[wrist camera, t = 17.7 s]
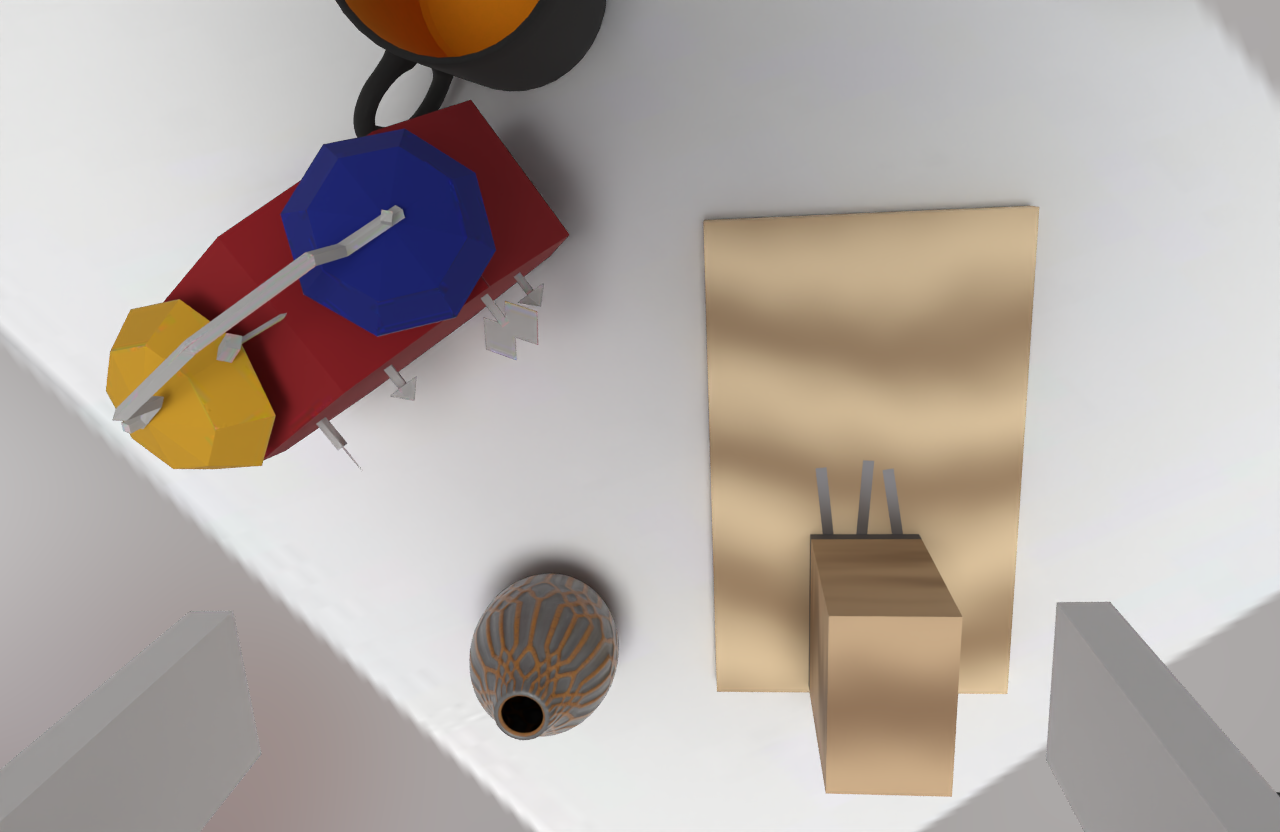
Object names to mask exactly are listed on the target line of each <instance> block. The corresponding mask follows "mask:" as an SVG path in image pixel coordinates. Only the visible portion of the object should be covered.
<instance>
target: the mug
mask: <svg viewBox="0 0 1280 832" xmlns="http://www.w3.org/2000/svg"><path fill="white" fill-rule="evenodd" d="M336 2H337V3H338V5H339V6H340V8H341V10H342V11H343V13H344V14H345V15H346V16H347V17H348V18H349V20H350V21H351V22H352V23H353V24H354V25H355V26H356V27H357V29H358V30H359V31H361V32H362V33H363V34H364V35H366V36H367V37H368V38H369V39H370V40H372V41H373V42H374V43H375V44H377V45H378V46H380V47H382V48H384V49H386V51H385V53H384V56H383V57H382V59H381V61H380V62H379V64H378V66H377V67H376V68H375V70H374V71H373V73H372V74H371V76H370V77H369V78H368V80H367V81H366V83H365V85H364V86H363V88H362V90H361V92H360V95H359V97H358V100H357V103H356V107H355V111H354V129H355V133H356V136H357V137H358V138H359V137H364V136H367V135H368V134H370V133H371V132H373V131H376V130H379V129H382V128H385V127H380V126H376V125H375V115H376V111H377V108H378V105H379V103H380V101H381V99H382V97H383V95H384V94H385V92H386V91H387V90H388V88H389V87H390V86H391V85H392V83H393V82H394V81H395V80H396V79H397V78H398V77H399V76H401V75H402V74H403V73H405V72H406V71H408V70H410V69H412V68H413V67H414V66H415V65H416V64H417V63H419V64H421V65H424V66H427V67H430V68H432V71H433V80H432V83H431V86H430V88H429V91H428V93H427V95H426V97H425V98H424V100H423V102H422V104H421V105H420V107H419V108H418V110H417V111H416V112H415V113H414V115H413V116H412V117H411V118H410V119H413V118H416V117H419V116H422V115H425V114H428V113H431V112H434V111H437V110H439V108H440V106H441V104H442V103H443V101H444V98H445V96H446V94H447V91H448V89H449V86H450V84H451V81H452V78H453V76H456V77H459V78H462V79H465V80H468V81H471V82H474V83H477V84H480V85H483V86H486V87H489V88H492V89H498V90H504V91H524V90H529V89H533V88H538V87H541V86H544V85H546V84H548V83H551V82H553V81H555V80H557V79H558V78H560V77H561V76H563V75H564V74H566V73H567V72H569V71H570V70H571V69H572V68H573V67H574V66H575V65H576V64H577V63H578V62H579V61H580V60H581V59H582V58H583V56H584V55H585V54H586V52H587V51H588V49H589V48H590V47H591V45H592V43H593V41H594V39H595V37H596V35H597V33H598V31H599V29H600V26H601V22H602V19H603V16H604V12H605V6H606V0H336ZM410 119H409V120H410Z"/></svg>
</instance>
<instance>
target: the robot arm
mask: <svg viewBox="0 0 1280 832" xmlns="http://www.w3.org/2000/svg"><path fill="white" fill-rule="evenodd" d="M260 755H261V750H260V745H259V739H258V734H257V729H256V725H255V719H254V715H253V709H252V704H251V699H250V694H249V689H248V684H247V679H246V674H245V669H244V663H243V659H242V653H241V648H240V643H239V638H238V634H237V628H236V623H235V618H234V613H233V611H190V612H188V613H187V614H186V615H185V616H184V617H182V618H181V619H180V620H179V621H178V622H176V623H175V624H174V625H173V626H172V627H170V628H169V629H168V630H167V631H166V632H164V633H163V634H162V635H161V636H160V637H158V638H157V639H156V640H155V641H154V642H152V643H151V644H150V645H149V646H148V647H146V648H145V649H144V650H143V651H142V652H140V653H139V654H138V655H137V656H136V657H134V658H133V659H132V660H131V661H130V662H128V663H127V664H126V665H125V666H124V667H122V668H121V669H120V670H119V671H118V672H116V673H115V674H114V675H113V676H112V677H111V678H109V679H108V680H107V681H106V682H104V683H103V684H102V685H101V686H100V687H99V688H97V689H96V690H95V691H94V692H92V693H91V694H90V695H89V696H88V697H86V698H85V699H84V700H83V701H82V702H80V703H79V704H78V705H77V706H76V707H74V708H73V709H72V710H71V711H70V712H68V713H67V714H66V715H65V716H64V717H63V718H61V719H60V720H59V721H58V722H56V723H55V724H54V725H53V726H52V727H51V728H49V729H48V730H47V731H46V732H44V733H43V734H42V735H41V736H40V737H39V738H37V739H36V740H35V741H34V742H32V743H31V744H30V745H29V746H28V747H26V748H25V749H24V750H23V751H22V752H20V753H19V754H18V755H17V756H16V757H14V758H13V759H12V760H11V761H10V762H9V763H7V764H6V765H5V766H4V767H2V768H1V769H0V832H200V831H201V830H202V829H203V828H204V826H205V825H206V824H207V823H208V821H209V820H210V819H211V817H212V816H213V815H214V814H215V812H216V811H217V810H218V809H219V807H220V806H221V805H222V803H223V802H224V801H225V800H226V798H227V797H228V796H229V795H230V793H231V792H232V791H233V790H234V788H235V787H236V786H237V784H238V783H239V782H240V781H241V779H242V778H243V777H244V776H245V774H246V773H247V772H248V770H249V769H250V768H251V767H252V765H253V764H254V763H255V762H256V760H257V759H258V758H259V757H260ZM1046 761H1047V763H1048V765H1049V767H1050V768H1051V770H1052V772H1053V774H1054V776H1055V778H1056V780H1057V782H1058V784H1059V785H1060V787H1061V789H1062V791H1063V793H1064V795H1065V797H1066V798H1067V800H1068V802H1069V804H1070V806H1071V808H1072V810H1073V812H1074V814H1075V815H1076V817H1077V819H1078V821H1079V823H1080V825H1081V827H1082V829H1083V830H1084V832H1280V793H1278V792H1275V791H1274V790H1273V789H1272V788H1271V786H1270V785H1269V784H1268V783H1267V782H1266V781H1265V779H1264V778H1263V777H1262V776H1261V775H1260V774H1259V772H1258V771H1257V770H1256V769H1255V768H1254V767H1253V766H1252V764H1250V762H1249V761H1248V760H1247V759H1246V758H1245V756H1244V755H1243V754H1242V753H1241V752H1240V751H1239V749H1238V748H1237V747H1236V746H1235V745H1234V744H1233V743H1232V742H1231V741H1230V739H1229V738H1228V737H1227V736H1226V735H1225V733H1224V732H1223V731H1222V730H1221V729H1220V728H1219V726H1218V725H1217V724H1216V723H1215V722H1214V721H1213V720H1212V718H1211V717H1210V716H1209V715H1208V714H1207V713H1206V712H1205V710H1204V709H1203V708H1202V707H1201V706H1200V705H1199V704H1198V702H1197V701H1196V700H1195V699H1194V698H1193V697H1192V695H1191V694H1190V693H1189V692H1188V691H1187V690H1186V689H1185V687H1184V686H1183V685H1182V684H1181V683H1180V682H1179V681H1178V679H1177V678H1176V677H1175V676H1174V675H1173V674H1172V672H1171V671H1170V670H1169V669H1168V668H1167V667H1166V666H1165V664H1164V663H1163V662H1162V661H1161V660H1160V659H1159V658H1158V656H1157V655H1156V654H1155V653H1154V652H1153V651H1152V650H1151V648H1150V647H1149V646H1148V645H1147V644H1146V643H1145V641H1144V640H1143V639H1142V638H1141V637H1140V636H1139V635H1138V633H1137V632H1136V631H1135V630H1134V629H1133V628H1132V627H1131V625H1130V624H1129V623H1128V622H1127V621H1126V620H1125V618H1124V617H1123V616H1122V615H1121V614H1120V613H1119V612H1118V610H1117V609H1116V608H1115V607H1114V606H1113V605H1112V604H1111V602H1057V607H1056V621H1055V636H1054V651H1053V665H1052V680H1051V694H1050V709H1049V724H1048V738H1047V753H1046Z"/></svg>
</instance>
